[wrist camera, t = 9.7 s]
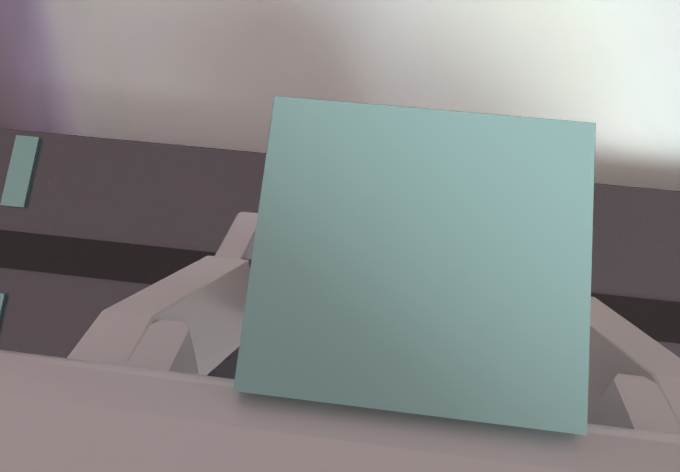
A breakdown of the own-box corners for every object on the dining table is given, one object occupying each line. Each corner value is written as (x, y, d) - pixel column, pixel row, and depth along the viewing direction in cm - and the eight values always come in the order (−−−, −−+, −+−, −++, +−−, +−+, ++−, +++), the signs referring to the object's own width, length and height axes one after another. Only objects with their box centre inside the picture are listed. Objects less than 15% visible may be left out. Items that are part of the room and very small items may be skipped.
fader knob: (436, 351, 13) (586, 435, 4) (316, 337, 14) (232, 390, 5) (444, 242, 14) (595, 123, 5) (329, 231, 14) (274, 95, 5)
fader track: (748, 463, 14) (797, 482, 13) (-203, 342, 16) (-264, 346, 15) (743, 211, 15) (786, 200, 14) (-142, 128, 17) (-193, 110, 16)
